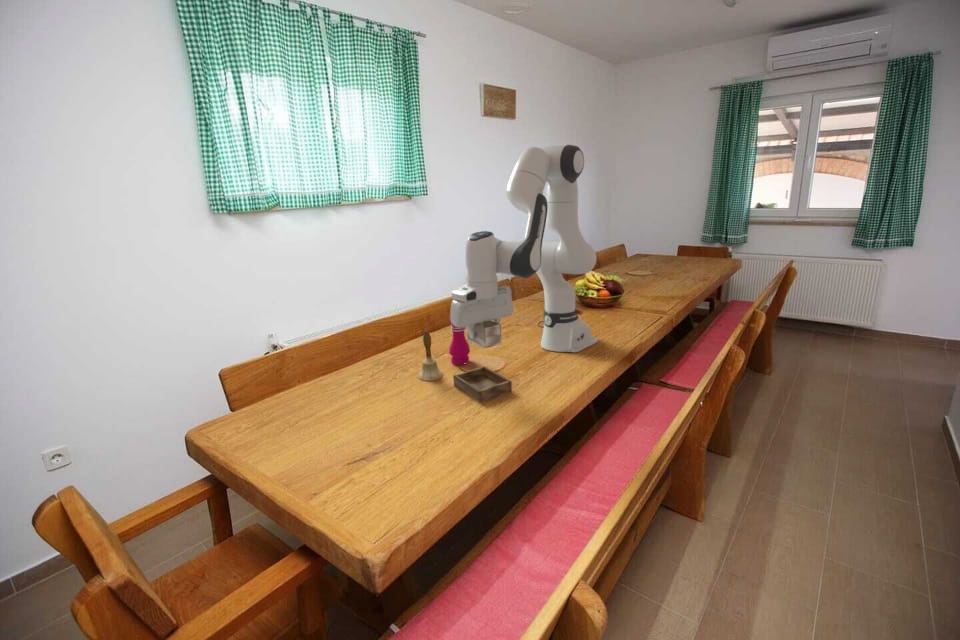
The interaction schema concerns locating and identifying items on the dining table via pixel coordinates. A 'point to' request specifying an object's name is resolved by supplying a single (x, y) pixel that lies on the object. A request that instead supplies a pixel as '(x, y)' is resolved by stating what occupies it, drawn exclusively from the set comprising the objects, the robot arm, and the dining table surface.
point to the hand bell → (429, 362)
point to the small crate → (486, 334)
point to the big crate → (482, 384)
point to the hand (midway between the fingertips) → (483, 335)
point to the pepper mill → (458, 346)
